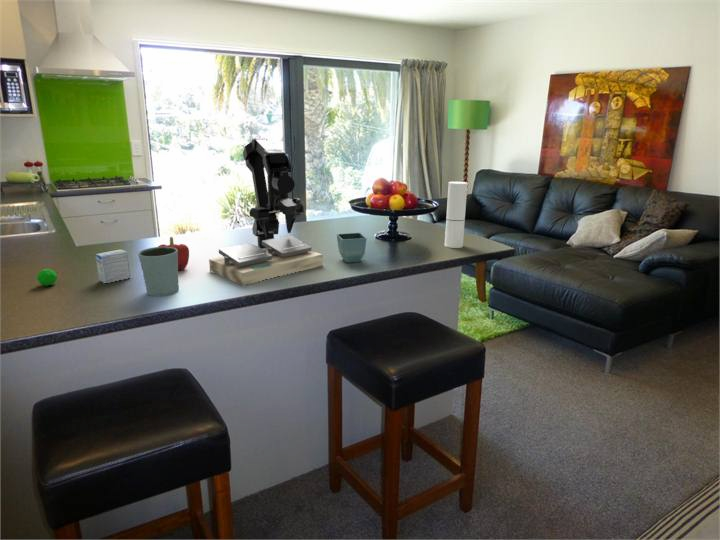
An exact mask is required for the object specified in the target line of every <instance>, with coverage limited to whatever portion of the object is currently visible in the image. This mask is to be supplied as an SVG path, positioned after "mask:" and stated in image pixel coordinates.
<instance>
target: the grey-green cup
mask: <svg viewBox="0 0 720 540" xmlns="http://www.w3.org/2000/svg"><path fill="white" fill-rule="evenodd" d="M137 255H138V259H139V262H140V266H141V268H140V269H141V270H142V274H143V279H144V285H145V290H146V293H147V295H148V296H151V297H167V296H171V295H175V294H176V293H178V292H179V291H180V290H179V289H180V285H179V283H180V282H179V270H178V250H177V249H176V248H173V247H158V246H155V247H150V248H145V249H142V250H140V251H139V252H138V253H137Z"/></svg>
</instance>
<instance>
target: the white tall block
mask: <svg viewBox="0 0 720 540" xmlns="http://www.w3.org/2000/svg"><path fill="white" fill-rule="evenodd" d="M447 186H448V188H447V199H446V201H447V204H446V217H445V219H446V221H445V230H444V231H445V234H444V247H446V248H449V249H450V248H452V249H461V248H463V246H464V233H465V224H466V223H465V221H466V219H465V218H466V211H467V210H466V208H467V207H466V206H467V197H468V196H467V194H468V182H467V181H448V185H447Z"/></svg>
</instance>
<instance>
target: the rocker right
mask: <svg viewBox="0 0 720 540" xmlns="http://www.w3.org/2000/svg"><path fill="white" fill-rule="evenodd" d="M303 242H304V241H302V242H301V240H299V239H298V238H296V237H294V236H292V235H286V236H280V237H274V239H269V240H263V241H262V245H263V246H265V247H266V248H272V250H273V252H274V253H276V254H278V255H279V256H281V257H287V256H291V255H296V254H300V253H305V252H309V251H312V246H310V245H309V244H307V243H305V242H304V243H303Z"/></svg>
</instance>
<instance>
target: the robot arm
mask: <svg viewBox="0 0 720 540" xmlns="http://www.w3.org/2000/svg"><path fill="white" fill-rule="evenodd" d="M242 158H243V161H245V166H246V167H247V168H248V169H249V170H250V172H251V175H252V176H251V177H252V181H253V187H254V189H253V190H254V194H255V201H256V206H257V207H251V208H250V209H249V217H252V218H253V219H254V221H253V225H252V229H251V230H252V235H254V236H255V237H257V247H259V248H261V249H263V248H266V247H265V246H263V245H262V241H263V240H269V239H274V238H275V235H279V231H280V230H279V228H280V221H279V219H278V217H277V214H280V213H282V214H283V215H285V222H286V223H285V226H286V230H287V234H291V232H292V230H293V227H294V224H295V221H296V218H297V217H299V216H301V214H302V213H304V212H305V208H304V205H303V203H301V199H300V198H299V197H294V198H289V194H290V193H291V192H292V191H294V188H295V184H296V183H295V181H294V179H293V178H292V176H291V175H289V174H290V173H292V168H293V167H292V165H291V161H290V159H289V156H288V154H286V152H285V150H282V149H277V148H274V146H273V145H271V144H270V143H269V141H268V139H267V138H266V137H254V138H252V140H251V142H249V143H247V144H246V145H245V146H244V148H243V151H242ZM265 171H266V173H265ZM265 174H266V175H267V180H266V175H265Z"/></svg>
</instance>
